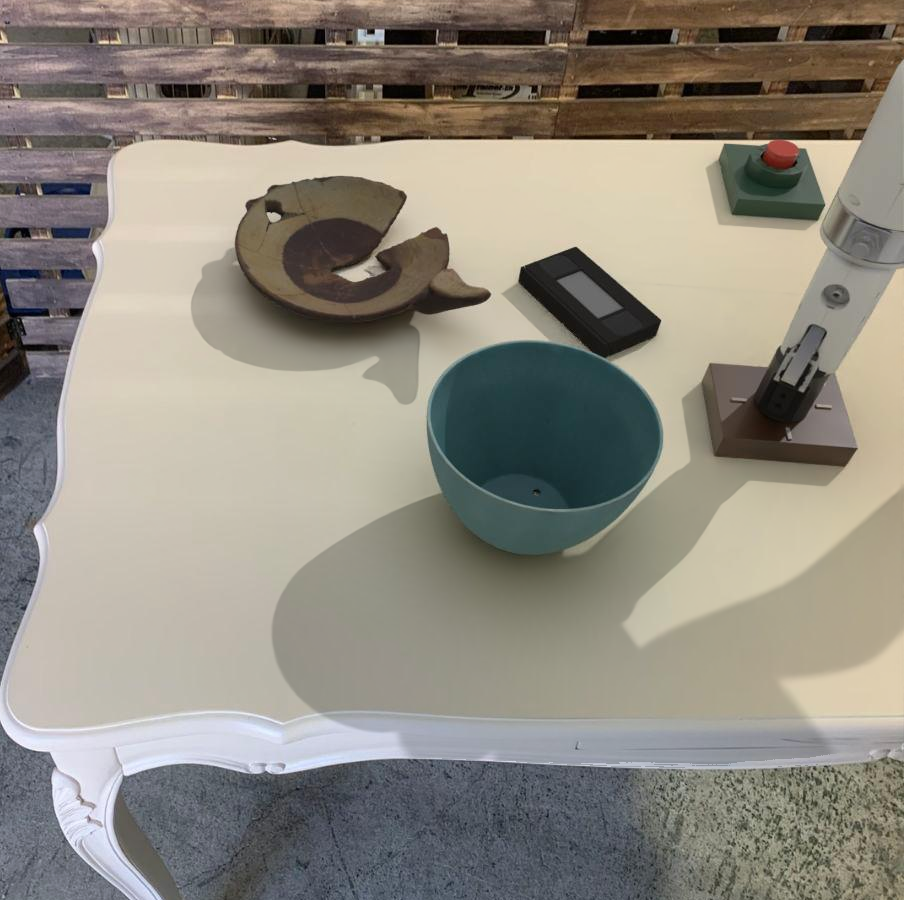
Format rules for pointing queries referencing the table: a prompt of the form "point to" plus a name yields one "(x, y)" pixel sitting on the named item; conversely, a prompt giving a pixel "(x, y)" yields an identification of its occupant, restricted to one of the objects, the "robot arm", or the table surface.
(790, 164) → the button
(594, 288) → the vhs tape
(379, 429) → the table surface
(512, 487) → the plant pot
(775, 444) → the panel
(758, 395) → the knob
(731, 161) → the button box
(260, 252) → the broken bowl
